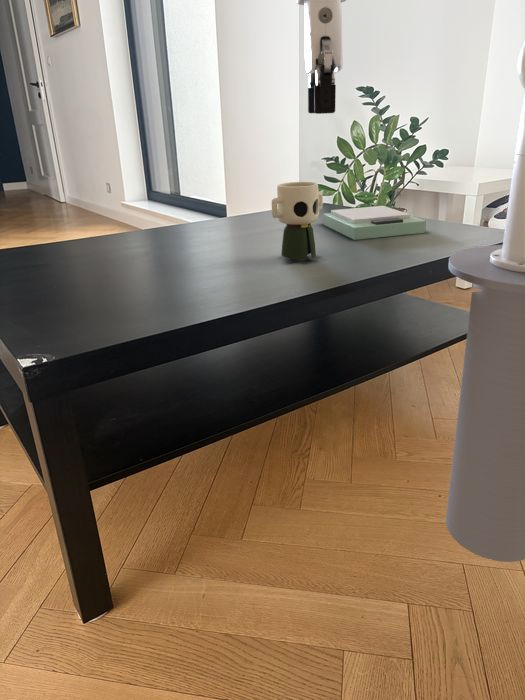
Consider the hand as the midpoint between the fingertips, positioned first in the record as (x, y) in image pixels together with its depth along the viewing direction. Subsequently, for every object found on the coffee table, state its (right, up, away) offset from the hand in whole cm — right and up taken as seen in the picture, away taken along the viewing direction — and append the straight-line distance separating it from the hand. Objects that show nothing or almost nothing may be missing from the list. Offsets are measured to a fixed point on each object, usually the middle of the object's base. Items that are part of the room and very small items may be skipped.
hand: (320, 113), depth 90 cm
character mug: (-3, -23, +9) cm, 25 cm away
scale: (+14, -12, +31) cm, 36 cm away
